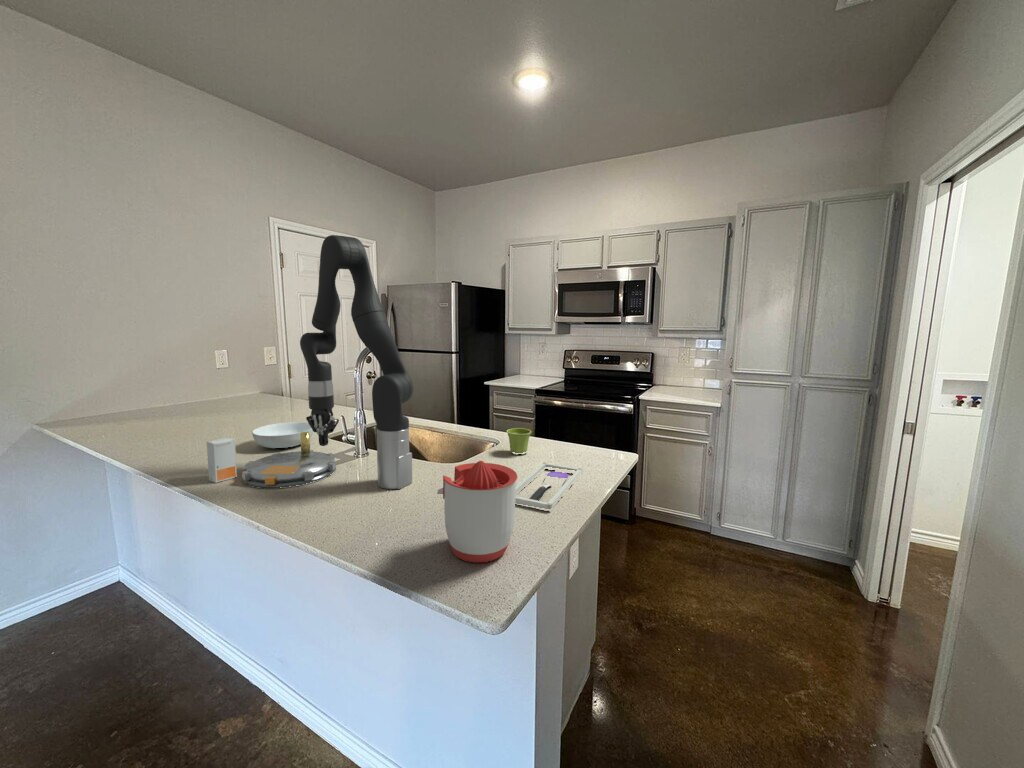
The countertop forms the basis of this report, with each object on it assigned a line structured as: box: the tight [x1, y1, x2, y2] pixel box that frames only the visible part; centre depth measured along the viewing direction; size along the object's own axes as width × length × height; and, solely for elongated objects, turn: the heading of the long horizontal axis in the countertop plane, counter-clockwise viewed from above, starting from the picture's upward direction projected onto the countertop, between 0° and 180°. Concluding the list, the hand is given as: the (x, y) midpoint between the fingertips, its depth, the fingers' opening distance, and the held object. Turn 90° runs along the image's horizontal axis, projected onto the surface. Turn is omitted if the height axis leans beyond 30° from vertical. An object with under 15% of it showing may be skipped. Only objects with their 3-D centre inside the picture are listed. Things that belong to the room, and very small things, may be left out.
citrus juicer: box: [436, 460, 518, 563], centre depth 90 cm, size 16×17×20 cm
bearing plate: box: [242, 460, 337, 489], centre depth 133 cm, size 26×26×1 cm
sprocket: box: [241, 432, 337, 485], centre depth 132 cm, size 27×27×9 cm
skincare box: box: [206, 437, 238, 484], centre depth 126 cm, size 6×4×12 cm
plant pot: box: [506, 427, 532, 453], centre depth 159 cm, size 9×9×9 cm
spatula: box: [529, 471, 570, 500], centre depth 124 cm, size 24×7×2 cm, turn 154°
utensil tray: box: [515, 462, 583, 509], centre depth 127 cm, size 13×31×2 cm, turn 156°
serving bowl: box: [251, 421, 314, 449], centre depth 161 cm, size 21×21×7 cm
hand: (323, 445), depth 140 cm, fingers closed
